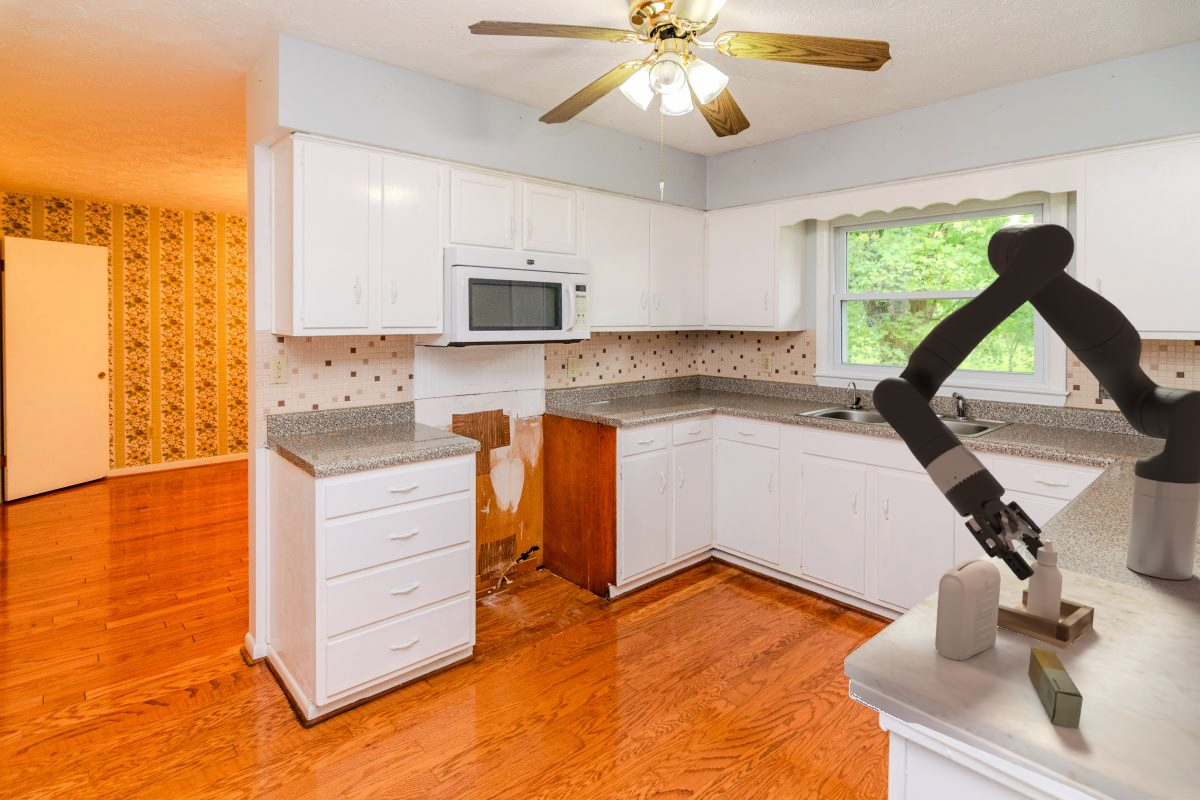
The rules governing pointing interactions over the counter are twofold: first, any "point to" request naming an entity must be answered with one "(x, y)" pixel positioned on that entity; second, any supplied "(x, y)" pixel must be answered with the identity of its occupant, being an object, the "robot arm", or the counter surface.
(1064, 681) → the medication box
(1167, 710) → the counter surface
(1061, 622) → the oak tray
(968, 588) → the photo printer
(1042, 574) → the eye dropper bottle
